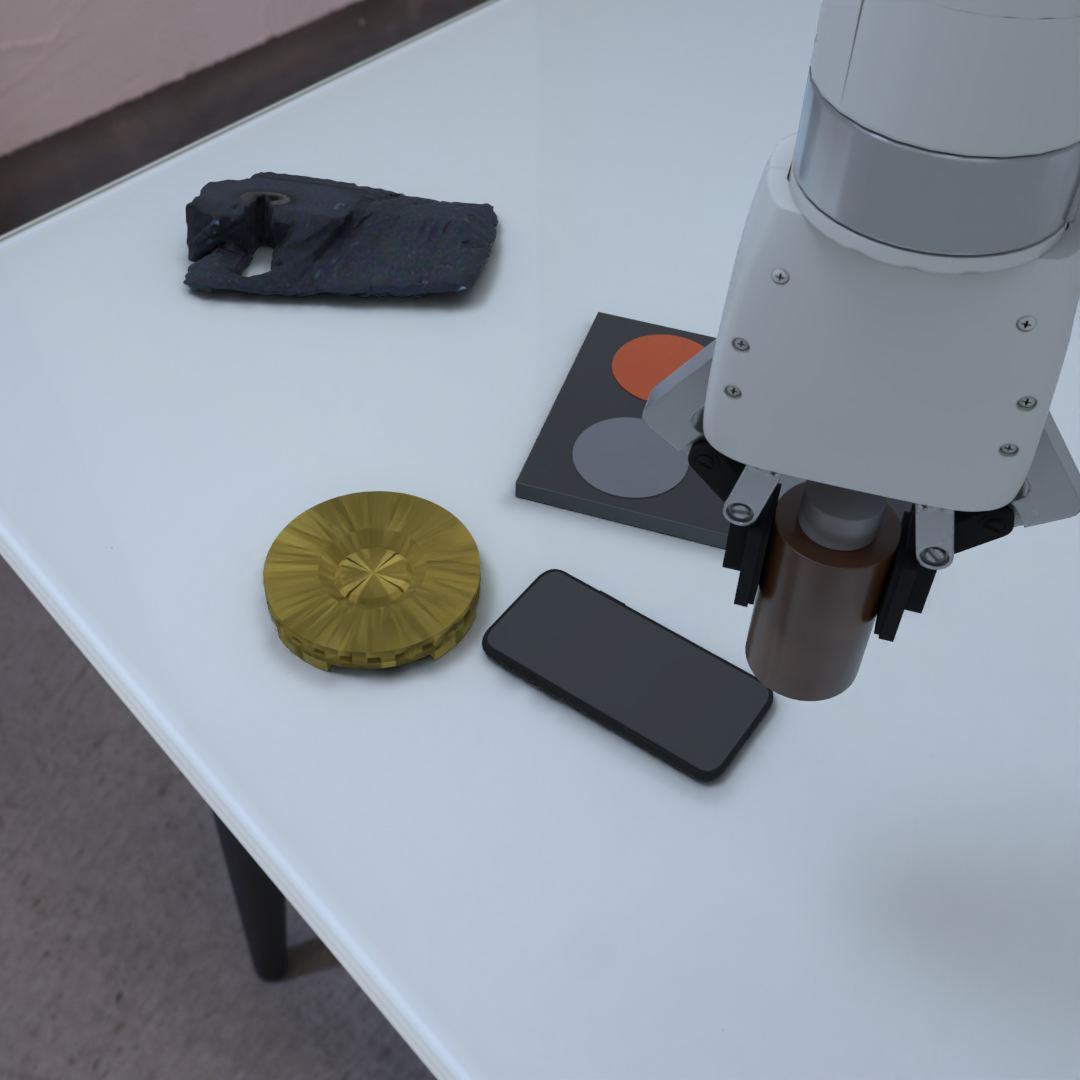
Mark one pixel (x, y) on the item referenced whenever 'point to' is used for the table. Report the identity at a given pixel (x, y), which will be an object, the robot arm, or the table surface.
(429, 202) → the dark slate chunk
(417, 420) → the table surface
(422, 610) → the gold round disc
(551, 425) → the hob
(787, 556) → the pepper mill
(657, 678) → the smartphone
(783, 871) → the table surface
